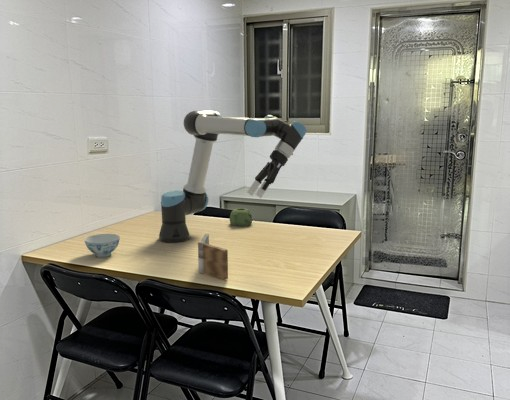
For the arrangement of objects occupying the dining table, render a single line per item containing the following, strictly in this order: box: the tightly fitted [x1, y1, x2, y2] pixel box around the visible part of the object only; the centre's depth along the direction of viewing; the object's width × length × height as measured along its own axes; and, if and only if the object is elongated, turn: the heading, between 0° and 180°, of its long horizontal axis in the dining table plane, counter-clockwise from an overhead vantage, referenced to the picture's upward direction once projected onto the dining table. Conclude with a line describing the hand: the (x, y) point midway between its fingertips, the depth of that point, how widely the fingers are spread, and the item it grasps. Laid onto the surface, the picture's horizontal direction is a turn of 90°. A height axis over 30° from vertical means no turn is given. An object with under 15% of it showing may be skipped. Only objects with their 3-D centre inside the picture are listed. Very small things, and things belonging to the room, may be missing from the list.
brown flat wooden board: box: [197, 241, 229, 281], centre depth 182 cm, size 15×3×12 cm, turn 47°
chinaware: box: [84, 233, 121, 258], centre depth 209 cm, size 15×15×8 cm
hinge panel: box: [197, 233, 210, 274], centre depth 192 cm, size 15×3×12 cm, turn 177°
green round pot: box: [229, 207, 253, 227], centre depth 263 cm, size 16×13×9 cm
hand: (253, 195), depth 199 cm, fingers open, 13 cm apart
